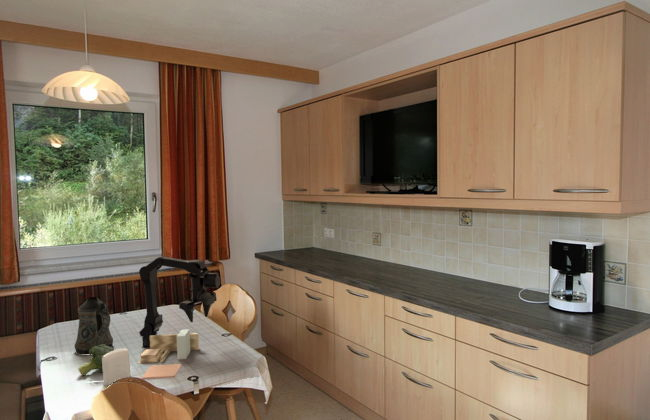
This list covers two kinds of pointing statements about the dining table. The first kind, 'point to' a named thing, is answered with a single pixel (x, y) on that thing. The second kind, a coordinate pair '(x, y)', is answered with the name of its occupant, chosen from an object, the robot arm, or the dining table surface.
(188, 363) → the dining table surface
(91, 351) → the vegetable
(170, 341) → the rack
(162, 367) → the mat
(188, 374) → the dining table surface
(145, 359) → the offcut middle
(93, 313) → the beer stein
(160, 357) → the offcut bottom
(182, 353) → the tall pale grey block
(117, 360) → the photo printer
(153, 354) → the offcut top
